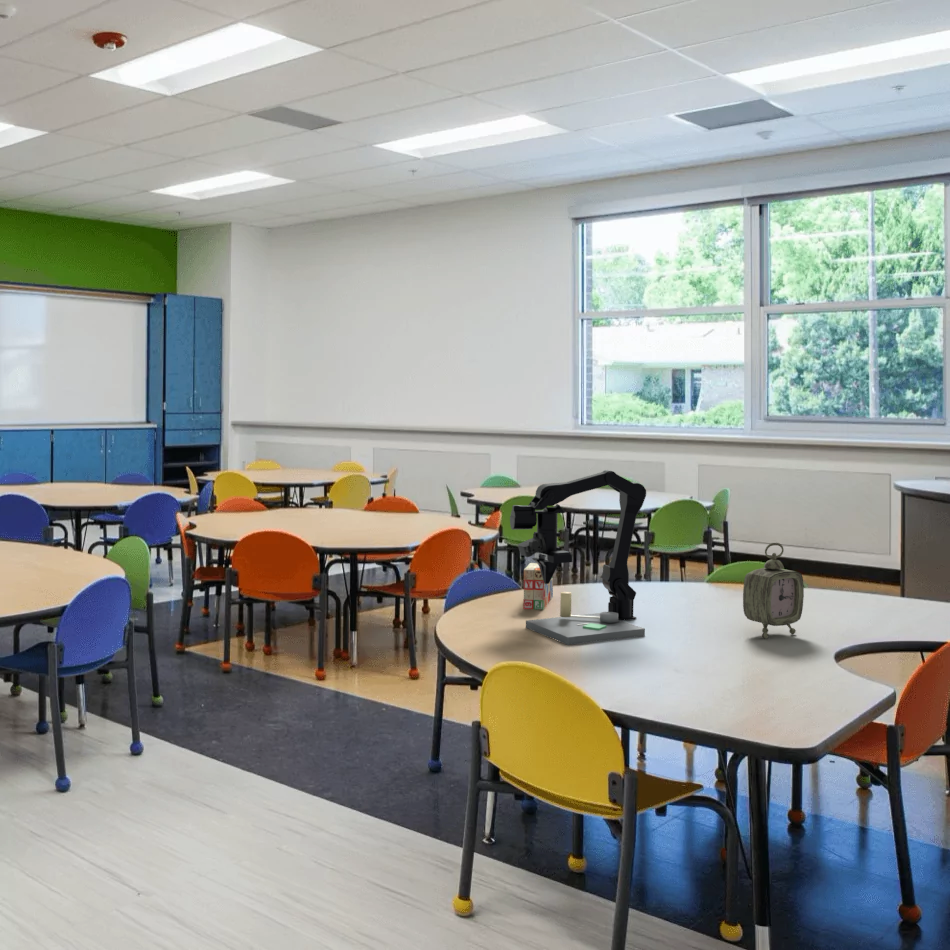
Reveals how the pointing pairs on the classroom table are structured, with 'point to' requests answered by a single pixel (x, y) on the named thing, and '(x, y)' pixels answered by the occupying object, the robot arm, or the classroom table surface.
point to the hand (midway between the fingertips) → (546, 583)
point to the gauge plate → (583, 629)
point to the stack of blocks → (536, 588)
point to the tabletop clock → (773, 594)
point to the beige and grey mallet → (566, 612)
